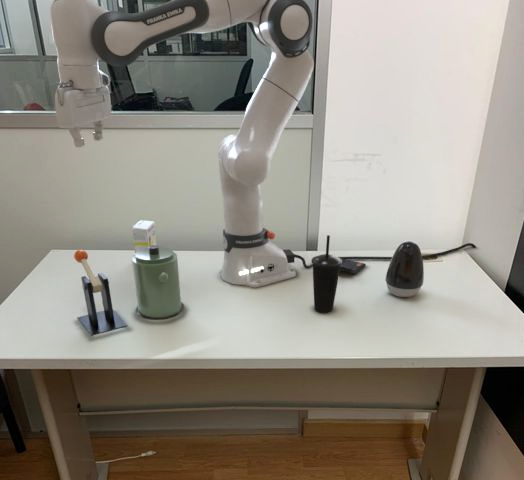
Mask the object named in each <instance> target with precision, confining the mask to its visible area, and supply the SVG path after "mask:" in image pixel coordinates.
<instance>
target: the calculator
mask: <svg viewBox="0 0 524 480" xmlns="http://www.w3.org/2000/svg"><path fill="white" fill-rule="evenodd" d="M340 259H341V258H340ZM341 260H342V264H341V266H340V271H339V272H343V273H349V274H353V275H357V274H358V273H359V272H361V270H363V269H364V268H365V267H366V263H363V262H359V261H355V260H352V259H341Z"/></svg>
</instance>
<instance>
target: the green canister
mask: <svg viewBox="0 0 524 480" xmlns="http://www.w3.org/2000/svg"><path fill="white" fill-rule="evenodd" d="M178 260H179V259H178V254H177V252H174V251H173V250H172V249H171V248H170V247H164V246H158V244H156V245H152V246H149V248H144V249H141V250H139V251H137V252H136V253H135V252H134V254H133V256H132V257H131V262H132V271H133V280H134V287H135V293H136V302H137V306H136V309H135V314H136V315H137V316H138V317H140V318H142V319H145V320H151V321H163V320H168V319H172V318H175V317H177V316H179V315H181V314H182V313H183V312H184V311H185V305H184V303H183V302H182V298H181V297H182V296H181V284H180V283H181V282H180V272H179V262H178Z"/></svg>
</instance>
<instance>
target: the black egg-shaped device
mask: <svg viewBox="0 0 524 480" xmlns="http://www.w3.org/2000/svg"><path fill="white" fill-rule="evenodd" d="M422 255H423V253H422V251H421V248H420V246H419V245H418V243H416V242H415V241H414V240H404V241H403V242H402V243H400V244H399V246H398V247H397V248H396V249H395V251H394V253H393V255H392V256H391V257H392V259H391V260H390V262H389V264H388V267H387V270H386V273H385V278H384V279H385V280H384V281H385V284H386V287H387V289H388V291H389V292H390V293H391V294H392V295H394V296H396V297H399V298H410V297H413V296H415V295H417V294H418V293H419V291H420V290H421V288H422V286H423V285H424V281H425V266H424V260H423V259H424V258H422Z"/></svg>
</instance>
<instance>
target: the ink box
mask: <svg viewBox="0 0 524 480" xmlns="http://www.w3.org/2000/svg"><path fill="white" fill-rule="evenodd" d="M155 225H156V224H155V221H154V220H143V219H142V220H141V219H140V220H139V221H137V222H136V223H135V224H134V225H133V226H132V227H131V230H132V239H133V240H132V241H133V248H134V254H135V253H136V252H137V251H139V250H141V249H144V248H149V246H152V245H157V235H156V226H155Z"/></svg>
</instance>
